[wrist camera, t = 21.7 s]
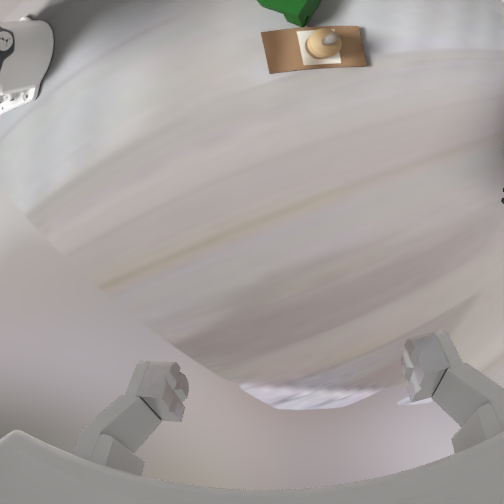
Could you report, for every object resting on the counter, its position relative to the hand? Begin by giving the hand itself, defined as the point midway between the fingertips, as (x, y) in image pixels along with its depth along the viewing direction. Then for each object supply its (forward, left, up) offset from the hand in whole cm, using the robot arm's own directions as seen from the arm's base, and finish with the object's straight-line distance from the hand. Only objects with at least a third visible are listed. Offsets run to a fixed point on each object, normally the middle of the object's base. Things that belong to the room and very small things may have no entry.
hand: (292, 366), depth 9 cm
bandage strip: (+7, +14, -34) cm, 38 cm away
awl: (+8, +14, -33) cm, 36 cm away
